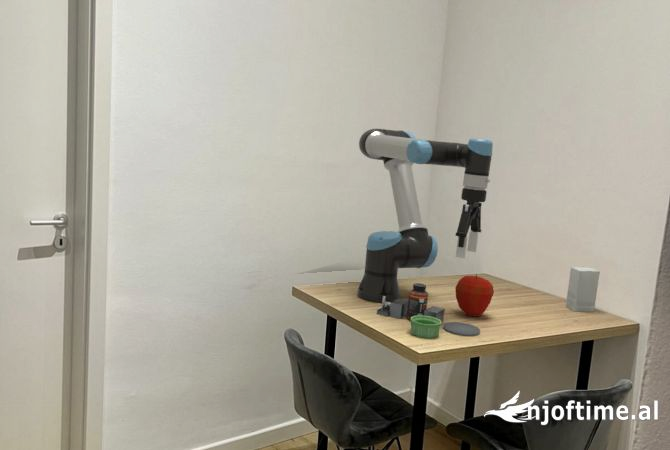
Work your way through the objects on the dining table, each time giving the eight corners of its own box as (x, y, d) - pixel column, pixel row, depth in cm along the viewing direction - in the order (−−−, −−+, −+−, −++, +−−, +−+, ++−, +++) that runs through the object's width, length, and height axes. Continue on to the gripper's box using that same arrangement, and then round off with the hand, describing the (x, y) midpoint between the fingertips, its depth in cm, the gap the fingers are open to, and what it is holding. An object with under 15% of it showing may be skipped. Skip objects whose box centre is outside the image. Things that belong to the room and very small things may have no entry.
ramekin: (442, 333, 176) (444, 319, 175) (435, 341, 168) (437, 326, 167) (413, 327, 179) (415, 313, 179) (405, 335, 171) (406, 320, 170)
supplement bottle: (424, 323, 184) (428, 287, 183) (405, 320, 185) (409, 285, 184) (425, 318, 190) (429, 283, 188) (407, 315, 191) (410, 281, 189)
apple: (446, 313, 197) (451, 272, 195) (464, 307, 206) (468, 268, 204) (479, 323, 189) (485, 280, 187) (496, 317, 198) (501, 276, 196)
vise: (375, 313, 190) (376, 298, 189) (387, 308, 198) (389, 293, 197) (433, 328, 180) (435, 312, 179) (444, 321, 188) (446, 306, 187)
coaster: (437, 330, 178) (438, 327, 178) (450, 322, 188) (450, 319, 187) (473, 338, 173) (473, 336, 172) (484, 330, 182) (484, 327, 182)
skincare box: (584, 307, 222) (590, 267, 220) (595, 312, 215) (601, 271, 213) (564, 306, 220) (570, 265, 218) (574, 311, 214) (580, 269, 212)
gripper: (476, 191, 173) (467, 262, 176) (495, 188, 195) (486, 251, 198) (451, 188, 176) (442, 257, 180) (473, 185, 198) (464, 247, 202)
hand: (465, 254), depth 189 cm, fingers open, 13 cm apart
